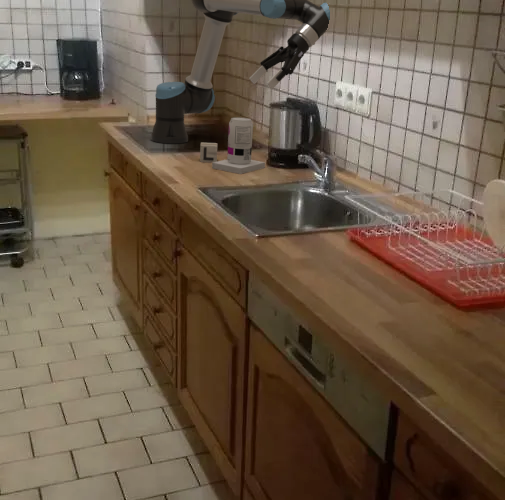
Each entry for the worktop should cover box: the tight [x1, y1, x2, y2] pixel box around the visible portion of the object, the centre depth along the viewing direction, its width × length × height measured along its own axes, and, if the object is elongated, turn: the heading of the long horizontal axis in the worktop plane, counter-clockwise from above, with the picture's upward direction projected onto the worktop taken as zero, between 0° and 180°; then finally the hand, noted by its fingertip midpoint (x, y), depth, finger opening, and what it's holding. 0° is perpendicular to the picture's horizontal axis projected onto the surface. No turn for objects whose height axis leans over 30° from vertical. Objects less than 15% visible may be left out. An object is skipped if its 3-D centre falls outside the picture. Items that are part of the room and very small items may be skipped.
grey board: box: [211, 159, 266, 175], centre depth 236 cm, size 15×12×2 cm
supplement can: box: [227, 117, 254, 164], centre depth 234 cm, size 8×8×15 cm
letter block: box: [199, 142, 218, 164], centre depth 245 cm, size 6×6×6 cm
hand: (260, 83), depth 234 cm, fingers open, 13 cm apart
